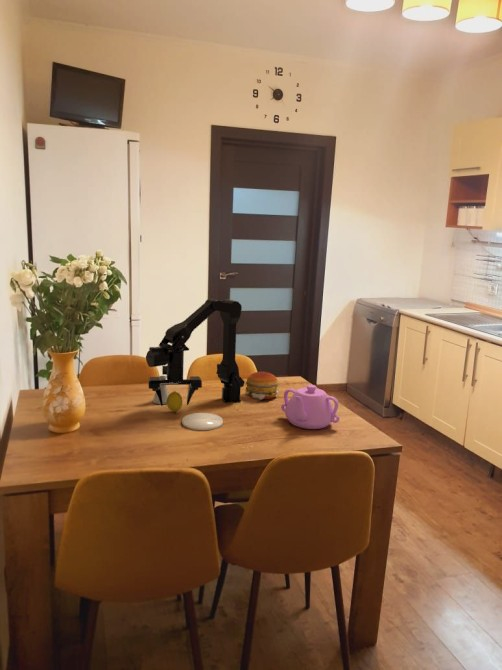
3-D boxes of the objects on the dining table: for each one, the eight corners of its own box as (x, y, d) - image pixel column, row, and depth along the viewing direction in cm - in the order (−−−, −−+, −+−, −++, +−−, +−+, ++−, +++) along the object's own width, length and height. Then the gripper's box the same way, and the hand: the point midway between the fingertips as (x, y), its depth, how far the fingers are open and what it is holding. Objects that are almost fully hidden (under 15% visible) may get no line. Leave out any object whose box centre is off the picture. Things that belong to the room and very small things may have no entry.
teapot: (264, 428, 180) (266, 389, 177) (290, 410, 199) (292, 374, 196) (325, 442, 170) (328, 401, 167) (346, 422, 189) (349, 385, 186)
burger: (278, 392, 219) (280, 369, 217) (277, 403, 206) (278, 378, 204) (246, 390, 220) (247, 367, 218) (243, 400, 207) (244, 376, 205)
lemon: (179, 415, 187) (179, 394, 186) (164, 414, 188) (164, 392, 187) (184, 410, 193) (184, 389, 191) (169, 409, 194) (170, 388, 192)
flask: (169, 405, 198) (170, 379, 195) (150, 404, 198) (150, 378, 196) (172, 399, 205) (173, 374, 203) (154, 398, 205) (154, 373, 203)
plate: (219, 415, 190) (219, 412, 190) (225, 429, 176) (225, 426, 176) (180, 416, 187) (180, 413, 187) (183, 431, 174) (183, 428, 173)
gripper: (199, 357, 196) (198, 397, 200) (148, 357, 193) (148, 398, 196) (202, 365, 186) (201, 407, 189) (148, 365, 182) (148, 408, 185)
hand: (174, 405), depth 190 cm, fingers open, 9 cm apart
